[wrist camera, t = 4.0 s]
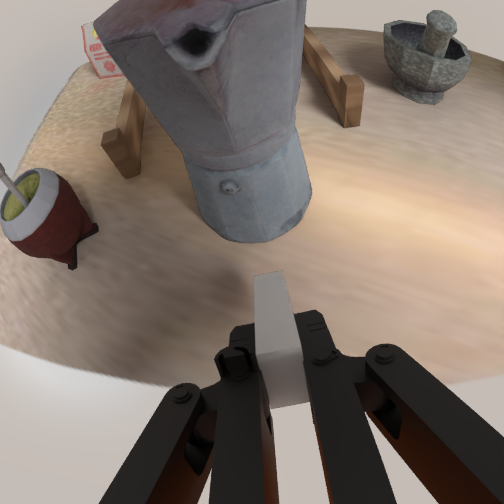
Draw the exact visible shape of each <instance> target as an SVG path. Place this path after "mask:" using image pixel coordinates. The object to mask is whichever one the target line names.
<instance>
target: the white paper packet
mask: <svg viewBox="0 0 504 504" xmlns="http://www.w3.org/2000/svg"><path fill="white" fill-rule="evenodd" d="M93 23H94V22H90V23H88V24H84V25H83V26H81V27H82V32H83V38H84V49H85V53H86V54H87V56H88V58H89V60H90V62H91V64H92V66H93V67H94V69H95V71H96V73H97V75H98V76H99V78H100V79H101V78H109V77H117V76H125V75H124V74H123V72H122V71H121V70H120V68H119V67H118V66H117V64H116V63H115V62H114V60H113V59H112V58H111V56H110V55H109V54H108V52H107V51H106V50H105V48H104V46H103V45H102V43H101V41H100V39H99V37H98V35H97V33H96V31H95V30H94V27H93Z"/></svg>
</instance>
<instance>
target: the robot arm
mask: <svg viewBox="0 0 504 504" xmlns="http://www.w3.org/2000/svg"><path fill="white" fill-rule="evenodd" d="M253 284H254V315H255V323H252V324H247V325H241V326H236V327H235V328H234V329H233V330H232V332H231V333H230V340H229V342H230V343H229V346H228V347H226V348H224V349H222V350H220V351H219V352H218V353H217V354H216V356H215V358H214V360H215V363H216V366H217V369H218V371H219V374H220V377H221V380H220V381H219V382H217V383H216V384H214V385H211V386H209V387H206V388H203V389H201V390H200V388H199V387H198V386H197V385H195V384H192V383H182V384H179V385H176V386H174V387H173V388H171V389H170V390H169V391H168V392H167V393H166V394H165V396H164V398H163V399H162V401H161V403H160V404H159V406H158V407H157V409H156V411H155V413H154V414H153V416H152V417H151V419H150V421H149V422H148V424H147V425H146V427H145V429H144V430H143V432H142V434H141V436H140V437H139V439H138V440H137V442H136V443H135V445H134V447H133V448H132V450H131V452H130V453H129V455H128V457H127V458H126V460H125V461H124V463H123V465H122V466H121V468H120V470H119V471H118V473H117V474H116V476H115V478H114V480H113V481H112V483H111V484H110V486H109V488H108V489H107V491H106V492H105V494H104V496H103V497H102V499H101V501H100V502H99V504H197V503H198V501H199V498H200V496H201V493H202V491H203V488H204V486H205V484H206V481H207V479H208V476H209V474H210V471H211V468H212V472H211V483H210V494H209V504H279V495H278V482H277V469H276V457H275V446H274V432H273V421H272V416H271V413H270V407H271V409H274V408H280V407H285V406H291V405H296V404H301V403H306V402H310V405H311V411H312V417H313V424H314V425H315V431H316V436H317V441H318V445H319V450H320V456H321V460H322V466H323V470H324V476H325V481H326V486H327V492H328V497H329V502H330V504H397V503H396V500H395V497H394V494H393V491H392V488H391V485H390V482H389V479H388V476H387V473H386V470H385V467H384V464H383V462H382V459H381V456H380V453H379V450H378V448H377V445H376V442H375V439H374V436H373V434H372V431H371V428H370V426H369V423H368V420H367V417H366V415H365V412H366V413H367V415H368V417H369V418H370V419H371V420H372V421H373V423H374V424H375V425H376V427H377V428H378V429H379V430H380V432H381V433H382V434H383V435H384V437H385V438H386V439H387V440H388V441H389V443H390V444H391V445H392V446H393V448H394V449H395V450H396V451H397V453H398V454H399V455H400V456H401V458H402V459H403V460H404V461H405V463H406V464H407V465H408V466H409V468H410V469H411V470H412V471H413V473H414V474H415V475H416V476H417V478H418V479H419V480H420V481H421V482H422V484H423V485H424V486H425V487H426V489H427V490H428V491H429V492H430V494H431V495H432V496H433V497H434V498H435V500H436V501H437V502H438V503H439V504H504V437H503V436H502V435H501V434H500V433H499V432H497V431H496V430H495V429H494V428H493V427H492V426H490V424H488V423H487V422H486V421H485V420H484V419H483V418H482V417H480V416H479V415H478V414H477V413H476V412H475V411H474V410H472V409H471V408H470V407H469V406H468V405H466V403H464V402H463V401H462V400H461V399H460V398H459V397H457V396H456V395H455V394H454V393H453V392H452V391H451V390H449V389H448V388H447V387H446V386H445V385H444V384H442V383H441V382H440V381H439V380H438V379H437V378H435V377H434V376H433V375H432V374H431V373H429V372H428V371H427V370H426V369H425V368H424V367H422V366H421V365H420V364H419V363H418V362H417V361H415V360H414V359H413V358H412V357H411V356H409V355H408V354H407V353H406V352H405V351H403V350H402V349H401V348H400V347H398V346H396V345H393V344H380V345H376V346H374V347H372V348H371V349H369V350H368V352H367V353H366V357H350V356H345V355H343V354H341V352H340V351H339V350H338V349H336V347H335V345H334V342H333V340H332V337H331V335H330V332H329V330H328V328H327V325H326V323H325V320H324V317H323V315H322V314H321V313H319V312H318V311H317V310H311V311H307V312H302V313H297V314H293V311H292V307H291V303H290V299H289V295H288V291H287V287H286V283H285V279H284V275H283V271H282V270H281V271H277V272H272V273H267V274H262V275H257V276H253ZM269 404H270V405H269Z"/></svg>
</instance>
